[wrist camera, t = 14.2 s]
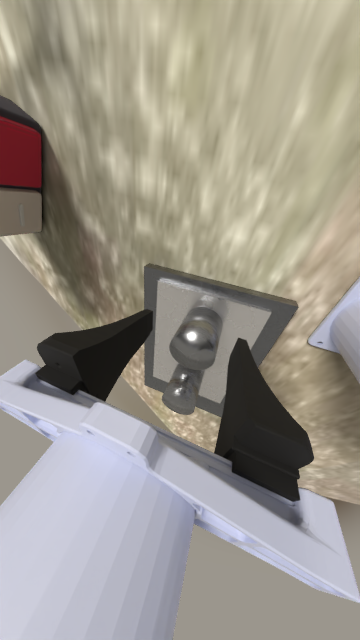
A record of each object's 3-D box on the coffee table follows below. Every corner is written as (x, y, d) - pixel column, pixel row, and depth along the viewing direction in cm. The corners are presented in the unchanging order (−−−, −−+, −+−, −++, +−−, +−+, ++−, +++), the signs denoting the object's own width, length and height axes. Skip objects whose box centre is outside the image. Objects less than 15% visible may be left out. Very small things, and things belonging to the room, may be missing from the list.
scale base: (295, 301, 16) (299, 308, 15) (224, 411, 30) (223, 420, 29) (149, 263, 19) (142, 267, 18) (147, 380, 33) (143, 386, 32)
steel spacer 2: (200, 364, 23) (190, 397, 19) (204, 385, 25) (196, 417, 21) (172, 362, 25) (157, 390, 21) (178, 381, 27) (166, 410, 23)
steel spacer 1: (228, 314, 17) (221, 345, 13) (216, 343, 20) (208, 376, 16) (188, 301, 18) (172, 327, 14) (182, 331, 21) (167, 359, 17)
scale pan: (271, 309, 16) (271, 312, 16) (220, 400, 27) (219, 403, 26) (160, 279, 18) (157, 281, 18) (154, 373, 29) (153, 376, 29)
